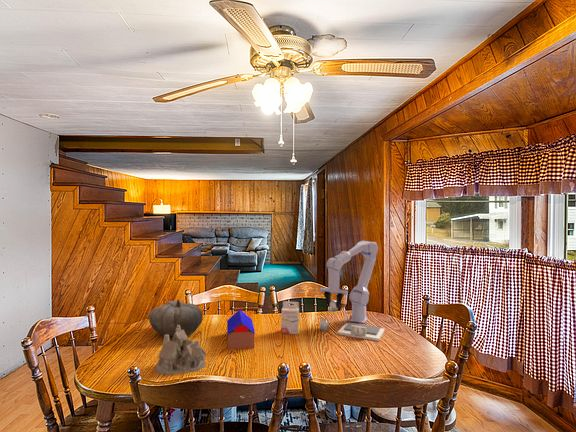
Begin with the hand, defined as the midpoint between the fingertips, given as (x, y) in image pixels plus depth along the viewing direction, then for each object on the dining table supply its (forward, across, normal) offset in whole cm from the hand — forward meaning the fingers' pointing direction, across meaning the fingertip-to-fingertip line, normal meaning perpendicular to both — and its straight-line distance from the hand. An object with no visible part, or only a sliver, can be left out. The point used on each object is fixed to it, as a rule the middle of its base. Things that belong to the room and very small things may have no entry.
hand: (333, 307), depth 183 cm
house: (+10, -32, -40) cm, 52 cm away
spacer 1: (+10, -2, -8) cm, 13 cm away
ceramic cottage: (+10, -36, -73) cm, 82 cm away
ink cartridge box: (+10, -16, -19) cm, 27 cm away
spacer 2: (+2, 0, 0) cm, 2 cm away
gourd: (+10, -64, -46) cm, 80 cm away
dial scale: (+10, +16, -3) cm, 19 cm away
